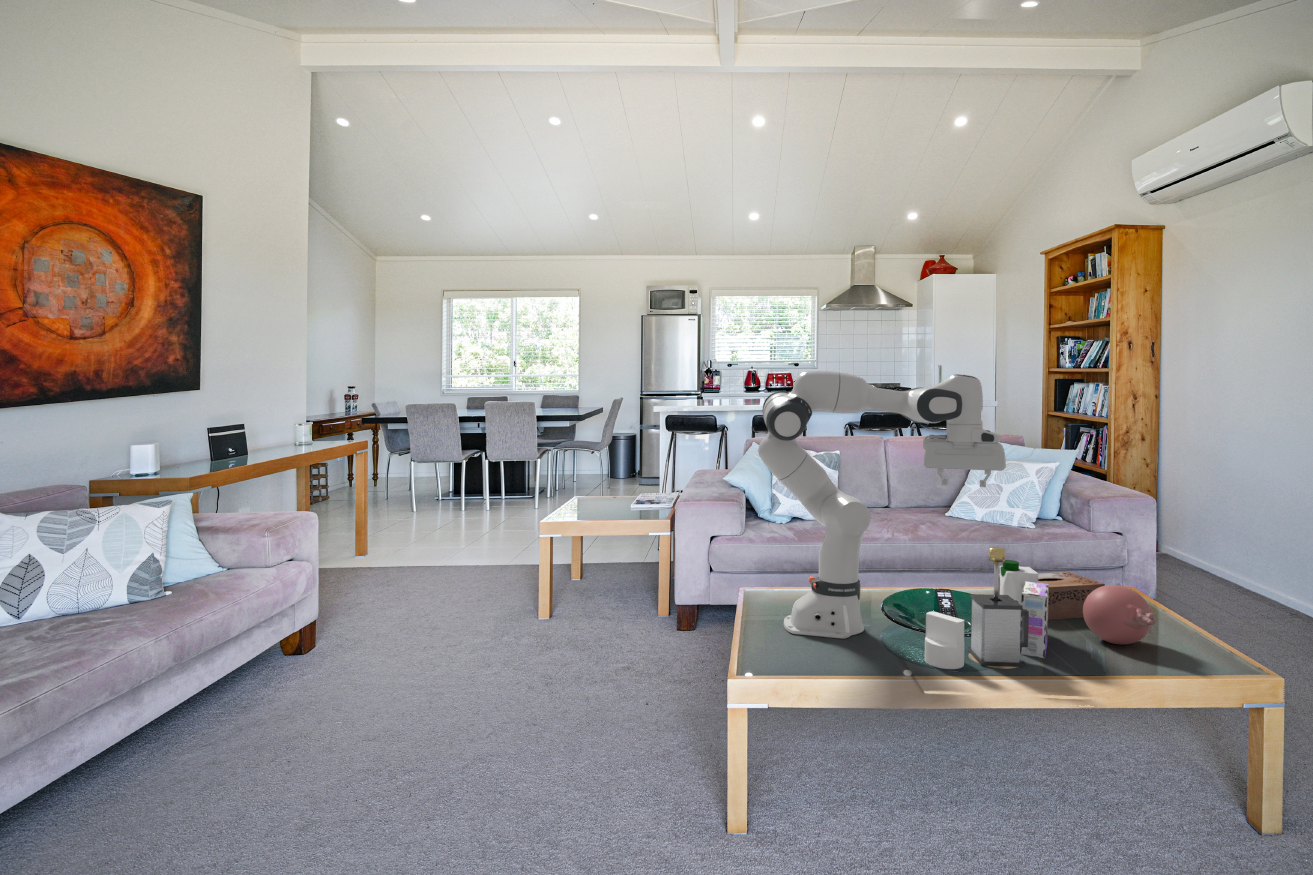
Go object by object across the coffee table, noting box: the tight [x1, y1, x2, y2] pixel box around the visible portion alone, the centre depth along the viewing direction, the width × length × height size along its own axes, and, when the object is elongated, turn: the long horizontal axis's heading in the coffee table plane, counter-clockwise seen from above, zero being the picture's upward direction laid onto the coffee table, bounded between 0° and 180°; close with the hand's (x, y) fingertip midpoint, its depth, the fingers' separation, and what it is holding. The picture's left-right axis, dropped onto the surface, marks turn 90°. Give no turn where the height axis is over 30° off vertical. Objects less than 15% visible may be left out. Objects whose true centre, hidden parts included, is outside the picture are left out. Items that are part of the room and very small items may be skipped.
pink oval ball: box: [1083, 584, 1157, 645], centre depth 180 cm, size 15×20×15 cm
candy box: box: [1020, 581, 1049, 659], centre depth 178 cm, size 14×6×16 cm, turn 148°
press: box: [967, 593, 1029, 668], centre depth 170 cm, size 12×10×15 cm
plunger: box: [988, 546, 1006, 601], centre depth 170 cm, size 6×6×17 cm
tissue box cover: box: [998, 571, 1106, 621], centre depth 210 cm, size 26×14×10 cm, turn 99°
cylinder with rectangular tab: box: [924, 610, 965, 670], centre depth 169 cm, size 9×9×12 cm
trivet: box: [968, 652, 1022, 670], centre depth 171 cm, size 12×12×1 cm
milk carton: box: [999, 559, 1039, 628], centre depth 191 cm, size 9×9×20 cm
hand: (963, 486), depth 185 cm, fingers open, 8 cm apart
